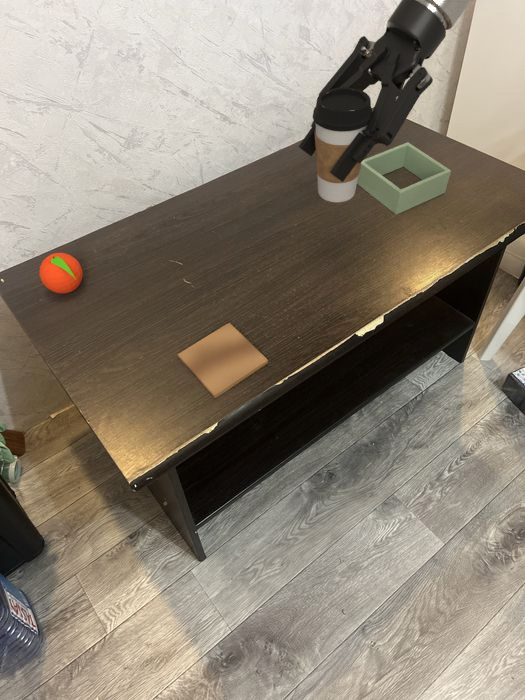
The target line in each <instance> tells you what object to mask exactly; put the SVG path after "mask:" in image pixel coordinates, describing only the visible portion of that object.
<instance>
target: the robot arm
mask: <svg viewBox="0 0 525 700" xmlns="http://www.w3.org/2000/svg"><path fill="white" fill-rule="evenodd" d="M471 2H473V0H401V1H400V2H399V3H398V5H397V7H396V8H395V9H394V11H393V12H392V13H391V14H390V16H389V18H388V20H387V22H386V27H385V32H384V34H383V35H381V37H379V38H378V39H377V40H375V41H373V40H369V39H368V38H367V36H365V35H363V36H361V37H359V39H358V41H357V43H356V45H355V46H354V49H353V51H352V52H351V53H350V55H349V56H348V57H347V59H345V60H344V62H343V64H342V65H341V66H340V67H339V68H338V70H336V72H335V73H334V74H333V76H332V77H331V78H330V79H329V81H328V82H327V83H326V84H325V85H324V87H322V89H321V90H320V91H319V92H318V96H319V95H320V94H322V93H323V92H325V91H327V90H330V89H334V88H341V87H348V88H355V89H359V90H361V91H364V92H365V90H366V89H368V87H369V86H374V85H376V84H377V83H378V82H380V85H381V86H380V87H381V88H380V90H379V94H378V96H377V99H376V101H375V104H374V107H373V108H372V115H371V117H370V120H369V123H368V125H367V128H366V130H365V129H364V130H363V129H362V133H363V134H364V135H365V136H364V135H363V134H361V133H360V132H359V133H358V134H357V135H356V137H355V138H354V140H353V141H352V142H351V144H350V145H349V146H348V148H347V149H346V151H345V152H344V153H343V155H342V156H341V158H340V159H339V160H338V162H337V163H336V164H335V166H334V167H333V169H332V170H331V171H330V173H331V174H332V175H334V176H335V177H336V178H338V179H339V180H340V181H342V182H343V181H344V180H345V178H346V177H347V176H348V174H349V173H350V172H351V170H352V169H353V168H354V166H355V165H356V164H357V162H358V163H361V162H362V161H363V160H365V159H366V157H367V156H368V154H370V152H371V151H372V149H373V148H374V146H376V145H384V146H386V147H388V146H391V144H392V143H393V141H394V139H395V138H396V136H397V135H398V132H399V131H400V130H401V128H402V127H403V125H404V123H405V121H406V120H407V118H408V116H409V115H410V113H411V112H412V110H413V108H414V106H415V105H416V103H417V102H418V100H419V98H420V97H421V95H422V94H423V93H424V92H425V91H426V90H427V89H428V88H429V87H430V86H431V85H432V83H433V81H434V78H433V77H432V75H431V74H430V73H429V71H428V70H427V68H426V67H424V66H423V65H424V61H425V60H429V59H430V58H432V56H433V54H434V53H435V52H436V51H437V49H438V47H440V46H441V44H442V42H443V41H444V40H445V39H446V37H447V36H446V35H447V31H448V30H449V31H450V30H451V29H452V28H453V27H454V26H455V24H456V23H457V21H458V20H459V19H460V17H461V16H462V15H463V13H464V12H465V10H466V9H467V8H468V7H469V6H470V4H471ZM310 127H311V128H310V129H309V130H308V132H307V133H306V135H305V136H304V138H303V139H302V141H301V142H300V143H299V145H298V148H299V149H301V150H302V151H303V152H305V154H307V155H308V156H310V157H313V155H314V154H315V153H316V147H315V128H316V123H315V122H314V120H312V122H311V124H310Z"/></svg>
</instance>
